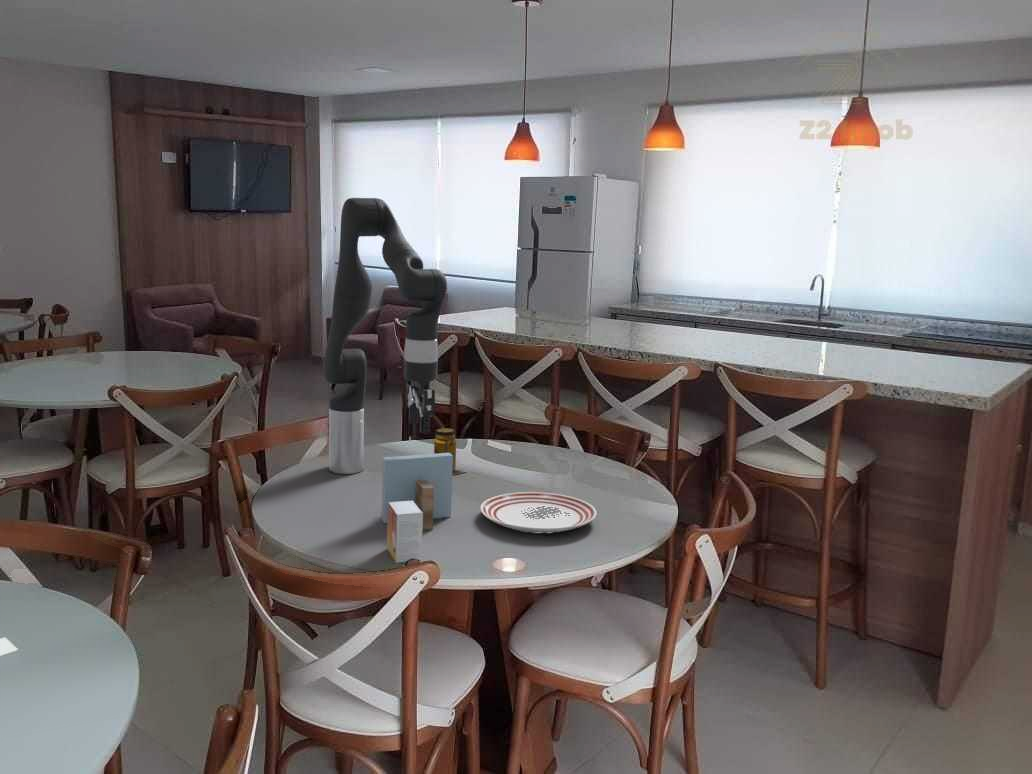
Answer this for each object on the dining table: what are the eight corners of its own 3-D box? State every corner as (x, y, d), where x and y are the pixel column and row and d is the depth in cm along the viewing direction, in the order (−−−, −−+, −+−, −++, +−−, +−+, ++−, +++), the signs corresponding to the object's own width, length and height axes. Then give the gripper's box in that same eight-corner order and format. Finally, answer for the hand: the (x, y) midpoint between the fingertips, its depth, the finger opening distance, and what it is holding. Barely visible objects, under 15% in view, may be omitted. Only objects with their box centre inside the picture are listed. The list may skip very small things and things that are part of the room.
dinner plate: (466, 505, 216) (466, 492, 215) (569, 498, 225) (569, 486, 224) (500, 547, 191) (501, 532, 190) (615, 537, 200) (616, 523, 199)
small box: (386, 549, 186) (387, 501, 184) (412, 546, 188) (413, 499, 186) (395, 563, 179) (396, 514, 177) (421, 560, 181) (423, 512, 179)
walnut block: (401, 507, 212) (402, 467, 210) (411, 506, 213) (412, 467, 211) (422, 530, 197) (423, 488, 195) (432, 529, 198) (433, 487, 196)
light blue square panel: (381, 519, 203) (382, 457, 200) (447, 513, 209) (449, 452, 206) (384, 523, 201) (385, 460, 198) (450, 516, 207) (452, 455, 204)
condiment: (426, 471, 242) (428, 429, 240) (451, 466, 248) (452, 424, 245) (443, 477, 237) (444, 434, 234) (467, 472, 242) (469, 430, 240)
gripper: (447, 363, 193) (444, 435, 196) (427, 352, 205) (425, 419, 209) (414, 364, 190) (412, 437, 193) (396, 353, 202) (394, 421, 206)
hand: (419, 428), depth 201 cm, fingers open, 8 cm apart
